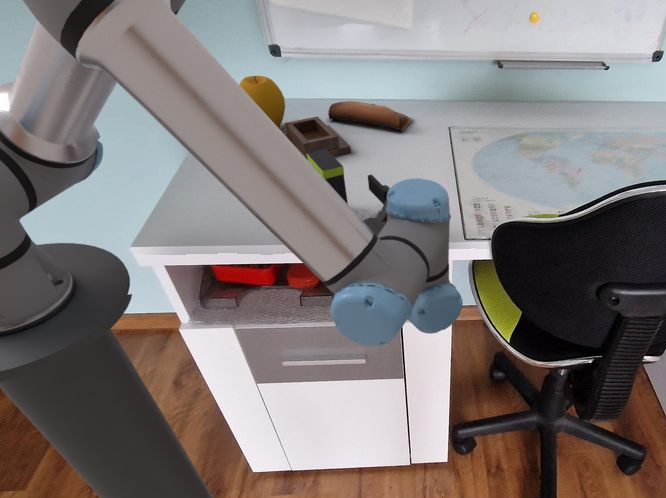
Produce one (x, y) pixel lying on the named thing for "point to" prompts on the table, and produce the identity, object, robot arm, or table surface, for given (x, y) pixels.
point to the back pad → (329, 170)
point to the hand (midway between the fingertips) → (333, 191)
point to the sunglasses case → (368, 114)
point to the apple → (265, 96)
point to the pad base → (315, 137)
